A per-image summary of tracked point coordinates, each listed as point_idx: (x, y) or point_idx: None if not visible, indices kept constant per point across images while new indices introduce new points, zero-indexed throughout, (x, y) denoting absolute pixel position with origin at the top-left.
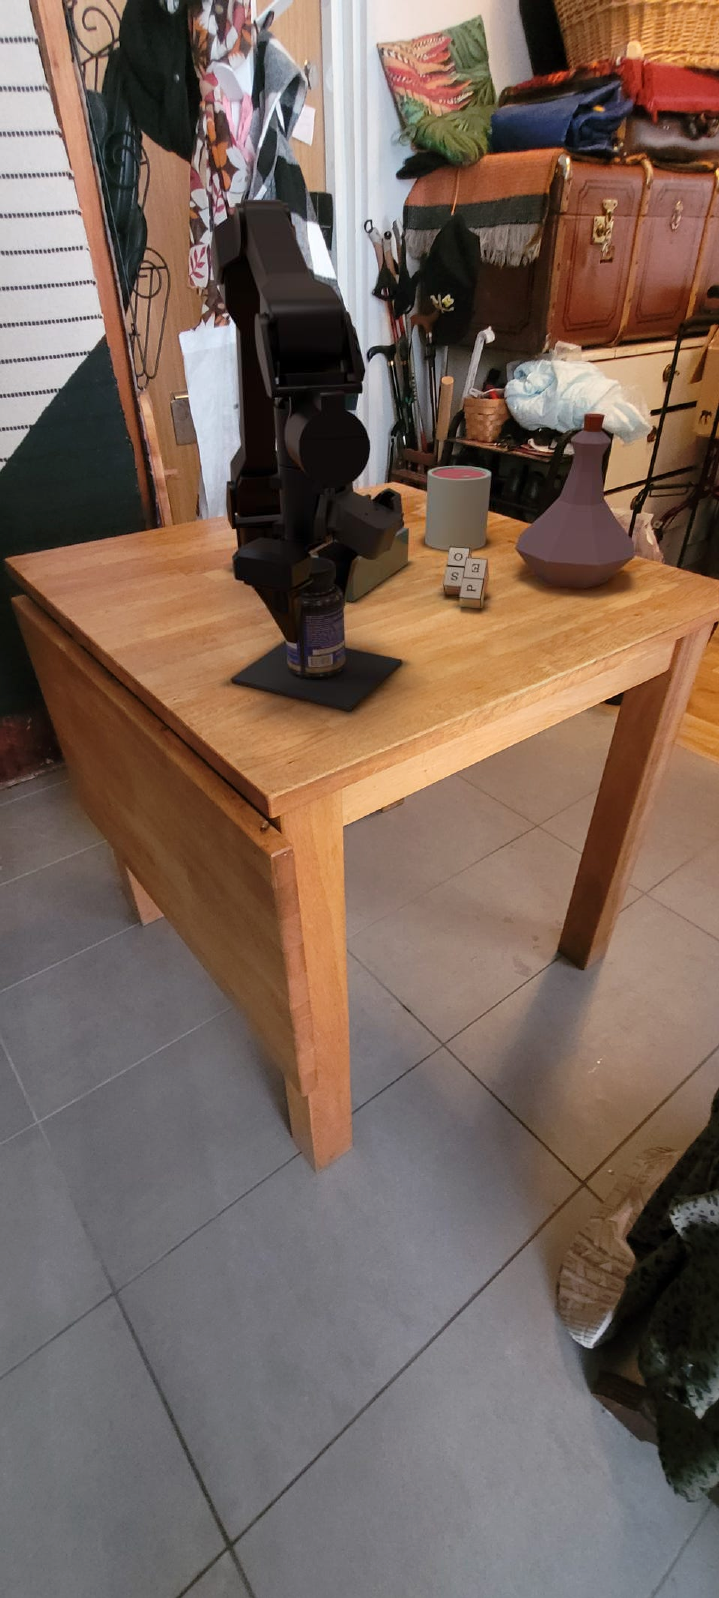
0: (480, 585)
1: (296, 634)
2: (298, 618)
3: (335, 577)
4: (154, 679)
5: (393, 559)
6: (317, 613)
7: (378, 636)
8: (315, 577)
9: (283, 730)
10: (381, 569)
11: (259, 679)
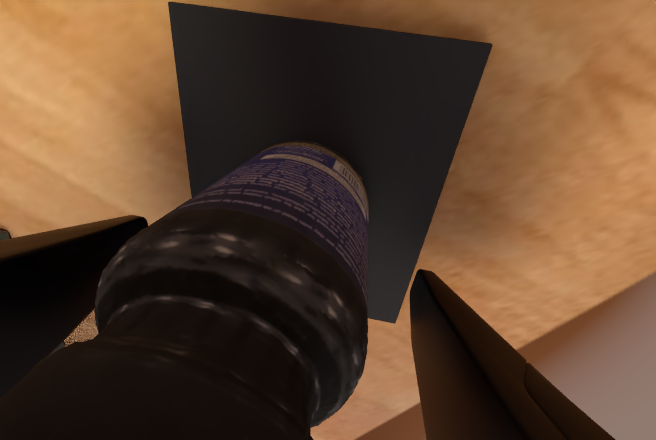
0: None
1: (449, 289)
2: (477, 333)
3: (26, 312)
4: (409, 398)
5: None
6: (353, 277)
7: (89, 129)
8: None
9: (593, 174)
10: None
11: (387, 283)
